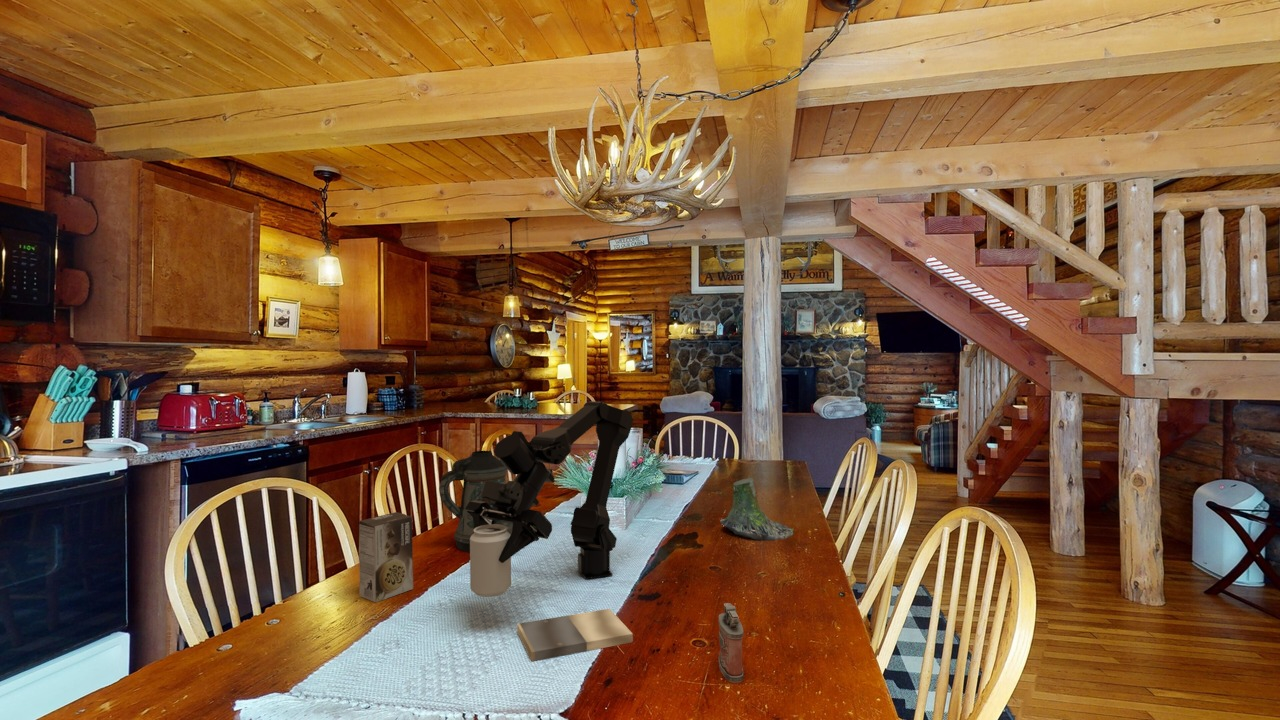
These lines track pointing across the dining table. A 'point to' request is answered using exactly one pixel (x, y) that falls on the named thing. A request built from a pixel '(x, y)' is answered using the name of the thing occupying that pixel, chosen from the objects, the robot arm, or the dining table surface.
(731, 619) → the lighter
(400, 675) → the dining table surface
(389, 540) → the coffee box
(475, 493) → the beer stein
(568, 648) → the subfloor panel
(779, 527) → the tree stump
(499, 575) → the can
